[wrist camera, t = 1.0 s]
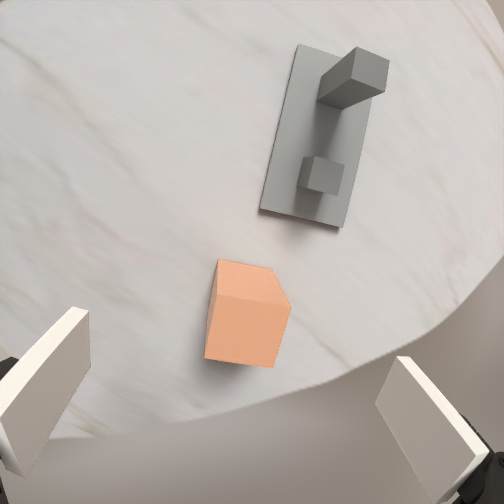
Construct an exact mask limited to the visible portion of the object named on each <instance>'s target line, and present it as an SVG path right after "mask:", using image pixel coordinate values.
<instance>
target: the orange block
mask: <svg viewBox="0 0 504 504" xmlns="http://www.w3.org/2000/svg"><path fill="white" fill-rule="evenodd" d="M290 311H291V305H290V303H289V301H288V299H287V297H286V295H285V293H284V291H283V289H282V287H281V285H280V283H279V281H278V279H277V277H276V275H275V273H274V271H273V270H272V269H267V268H261V267H256V266H251V265H246V264H241V263H236V262H231V261H226V260H221V259H218V263H217V267H216V272H215V277H214V282H213V287H212V292H211V297H210V302H209V307H208V316H207V328H206V341H205V355H204V358H207V359H213V360H219V361H225V362H231V363H238V364H245V365H252V366H260V367H268V368H273V366H274V363H275V360H276V357H277V353H278V350H279V347H280V344H281V341H282V337H283V334H284V331H285V327H286V324H287V321H288V317H289V314H290Z"/></svg>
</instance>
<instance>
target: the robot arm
mask: <svg viewBox="0 0 504 504" xmlns="http://www.w3.org/2000/svg"><path fill="white" fill-rule="evenodd" d="M90 367H91V363H90V341H89V311H88V310H84V309H80V308H76V307H72V308H71V309H69V310H68V311H67V312H66V313H65V314H64V315H63V316H62V317H61V318H60V319H59V320H58V321H57V322H56V323H55V324H54V325H53V326H52V327H51V328H50V329H49V330H48V331H47V332H46V333H45V334H44V335H43V336H42V337H41V338H40V339H39V340H38V341H37V342H36V343H35V344H34V345H33V346H32V347H31V348H30V349H29V351H28V352H27V353H26V354H25V355H24V356H23V357H22V358H21V359H20V360H18V359H16V358H14V357H10V358H7V359H5V360H3V361H1V362H0V459H1V460H2V462H3V464H4V466H5V468H6V469H7V470H9V471H11V472H13V473H15V474H17V475H19V476H21V477H23V478H25V479H27V477H28V475H29V473H30V471H31V469H32V467H33V465H34V463H35V462H36V460H37V457H38V456H39V454H40V452H41V450H42V449H43V447H44V445H45V443H46V441H47V439H48V438H49V436H50V434H51V432H52V431H53V429H54V427H55V425H56V424H57V422H58V420H59V418H60V417H61V415H62V413H63V411H64V410H65V408H66V406H67V405H68V403H69V401H70V400H71V398H72V396H73V395H74V393H75V391H76V390H77V388H78V386H79V385H80V383H81V381H82V380H83V378H84V377H85V375H86V373H87V372H88V370H89V369H90ZM375 405H376V407H377V409H378V410H379V412H380V414H381V415H382V417H383V419H384V421H385V422H386V424H387V425H388V427H389V429H390V430H391V433H392V434H393V436H394V438H395V439H396V441H397V443H398V445H399V446H400V448H401V450H402V452H403V453H404V455H405V457H406V459H407V460H408V462H409V464H410V466H411V467H412V469H413V471H414V473H415V475H416V476H417V478H418V480H419V481H420V483H421V485H422V487H423V489H424V491H425V492H426V494H427V496H428V498H429V499H430V501H431V503H432V504H440V503H442V502H446V501H448V500H449V499H450V498H451V497H452V496H453V494H454V493H455V492H456V491H457V492H458V493H459V495H460V496H459V497H458V498H457V499H456V500H455V501H454V502H453V503H452V504H504V452H497V453H496V454H495V453H494V451H493V450H492V449H491V448H490V447H489V445H488V444H487V443H486V442H485V441H484V439H483V438H482V437H481V436H480V435H479V433H476V430H475V429H474V427H473V426H471V424H470V422H469V421H468V420H467V419H466V418H465V417H464V416H463V415H461V414H460V413H459V412H457V411H456V410H455V409H454V407H453V406H452V405H451V404H450V403H449V402H448V401H447V399H446V398H445V397H444V396H443V395H442V393H441V392H440V391H439V390H438V389H437V388H436V386H435V385H434V384H433V383H432V382H431V381H430V380H429V378H428V377H427V376H426V375H425V374H424V373H423V372H422V371H421V370H420V368H419V367H418V366H417V365H416V364H415V363H414V362H413V360H412V359H411V358H410V357H398V356H396V358H395V361H394V363H393V365H392V368H391V370H390V372H389V374H388V377H387V379H386V381H385V383H384V385H383V388H382V389H381V391H380V394H379V396H378V398H377V400H376V402H375ZM0 504H9V503H8V500H7V497H6V494H5V491H4V488H3V484H2V481H1V478H0Z"/></svg>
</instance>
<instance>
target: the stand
mask: <svg viewBox="0 0 504 504" xmlns="http://www.w3.org/2000/svg"><path fill="white" fill-rule="evenodd" d="M388 68H389V60H387V59H385V58H383V57H380V56H378V55H376V54H373V53H371V52H369V51H366V50H364V49H361V48H359V47H356V48H354V49H353V50H352V51H351V52H350V53H348V54H347V55H346V56H345V57H344V58H341V57H338V56H335V55H332V54H330V53H327V52H324V51H321V50H317V49H314V48H311V47H308V46H305V45H301V44H298V46H297V49H296V54H295V58H294V62H293V66H292V70H291V75H290V79H289V83H288V87H287V91H286V96H285V100H284V104H283V108H282V113H281V117H280V121H279V125H278V129H277V134H276V138H275V142H274V146H273V151H272V155H271V159H270V163H269V168H268V172H267V176H266V180H265V185H264V189H263V193H262V198H261V202H260V206H259V208H261V209H265V210H270V211H274V212H279V213H283V214H287V215H292V216H296V217H300V218H305V219H309V220H313V221H317V222H321V223H325V224H329V225H334V226H338V227H342V228H343V225H344V221H345V217H346V213H347V210H348V206H349V202H350V198H351V194H352V190H353V185H354V181H355V177H356V173H357V168H358V164H359V160H360V155H361V151H362V146H363V141H364V136H365V132H366V127H367V122H368V117H369V111H370V106H371V101H372V97H373V96H376V95H378V94H381V93H383V92H385V88H386V81H387V75H388Z"/></svg>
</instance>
